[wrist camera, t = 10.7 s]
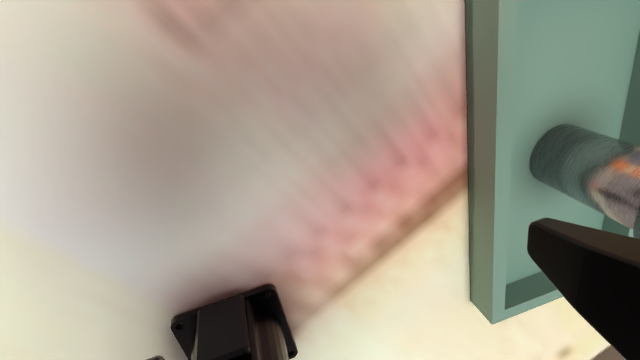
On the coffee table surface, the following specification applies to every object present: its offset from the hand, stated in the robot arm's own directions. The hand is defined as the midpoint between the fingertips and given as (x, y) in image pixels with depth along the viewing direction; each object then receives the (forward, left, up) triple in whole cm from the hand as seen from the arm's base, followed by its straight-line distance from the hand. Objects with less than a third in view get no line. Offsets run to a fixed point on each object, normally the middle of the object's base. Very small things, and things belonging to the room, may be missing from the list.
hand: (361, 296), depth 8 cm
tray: (-6, -17, -12) cm, 22 cm away
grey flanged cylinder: (-6, -17, -11) cm, 21 cm away
